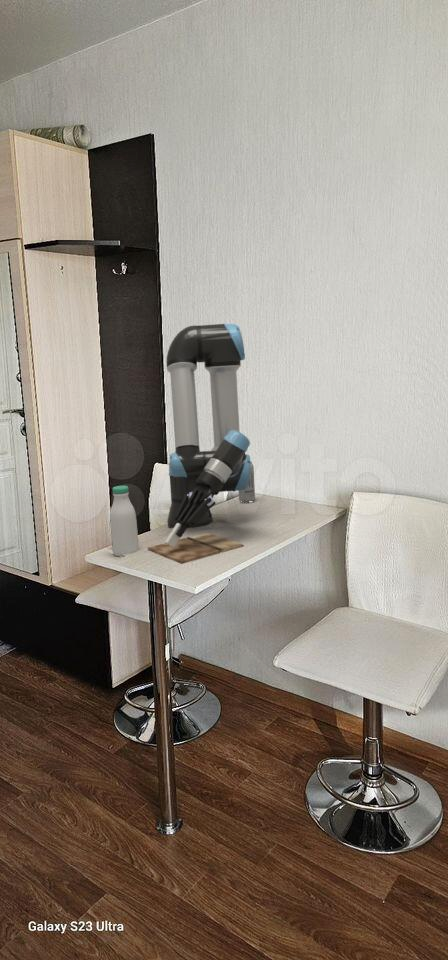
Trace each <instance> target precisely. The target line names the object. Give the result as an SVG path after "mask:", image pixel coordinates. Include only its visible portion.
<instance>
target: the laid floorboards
mask: <svg viewBox="0 0 448 960" xmlns="http://www.w3.org/2000/svg"><path fill="white" fill-rule="evenodd" d="M186 539H189V540H192V541H195V542H198V543H200V544H203V545H206V546H209V547H212V548H214V549H217V550H220V554H221V553H222V554H223V553H225V552H228V551H233V550H236V549H240V548H243V547H245V544H243V543H241V542H240V543H239V542H237V541H234V540H231V539H228V538H225V537H221V536H218V535H216V534H212V533H209V532H207V533H206V532H205V533H202V534H199V535H194V536H186Z"/></svg>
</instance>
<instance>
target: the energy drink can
mask: <svg viewBox="0 0 448 960" xmlns="http://www.w3.org/2000/svg"><path fill="white" fill-rule="evenodd" d="M254 467H255V466H254V464H253V462H252V460H250V478H249V484H248V486H247V488H246V489H244V490H238V500H239V501H240V502H241V501H242V502H249V501H253V500H254V501H255V500H256V492H255V491H256V489H255V486H256V485H255V468H254Z"/></svg>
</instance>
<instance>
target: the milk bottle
mask: <svg viewBox="0 0 448 960" xmlns="http://www.w3.org/2000/svg"><path fill="white" fill-rule="evenodd" d="M129 493H130V492H129V487H128V486H127V485H116V486H114V487H112V495H113V501H112V505H111V507H110V512H109V525H110V536H111V537H110V538H111V539H110V540H111V548H112V555H114V556H116V557H125V555H126V554H132V553H136V552H138V551H139V549H140V546H139V544H140V543H139V533H138V524H137V523H138V522H137V513H136V510H135V507H134V506H133V504H132V502H131V500H130V497H129Z"/></svg>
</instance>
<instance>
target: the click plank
mask: <svg viewBox="0 0 448 960" xmlns="http://www.w3.org/2000/svg"><path fill="white" fill-rule="evenodd" d="M147 551H149V552H152V553H154V554H157V555H159V556H161V557H164V558H166V559H169V560H171V561H174V562H176V563H179V564H181V565H183V564H187V563H189V562H190V563H191V562H194V561H197V560H200V559H205V558H207V557H211V556H214V555H219V554H221V552H220V550H217V549H214V548H212V547H209V546H206V545H203V544H200V543H198V542H195V541H192V540H189V539H186V538H185V537H184V538H180V539H179V540H178V542H177V544H176V545H175V547H174V548H173V547H171V546H169V545H168V544H167V543H166V542H164V543H160V544H155V545H152V546H148V547H147Z"/></svg>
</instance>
